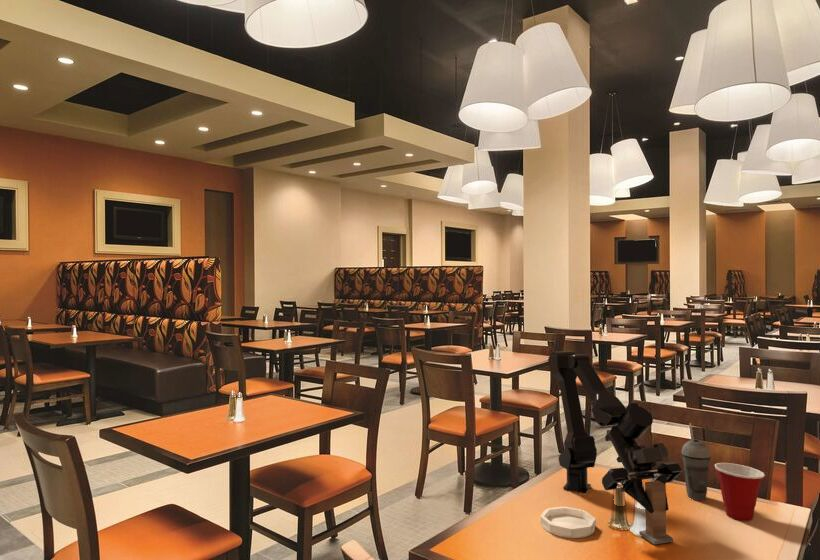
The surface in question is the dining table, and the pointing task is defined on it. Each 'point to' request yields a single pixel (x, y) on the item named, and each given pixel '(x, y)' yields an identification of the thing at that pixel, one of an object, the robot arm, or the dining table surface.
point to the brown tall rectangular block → (656, 514)
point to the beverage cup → (696, 467)
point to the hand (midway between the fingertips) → (659, 511)
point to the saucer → (568, 522)
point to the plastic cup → (739, 489)
